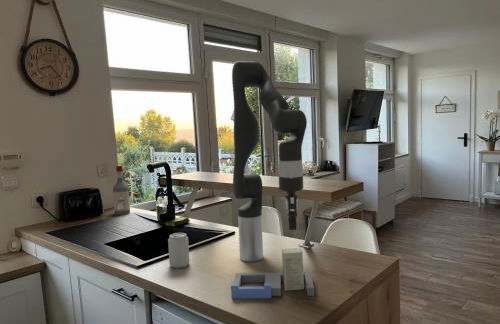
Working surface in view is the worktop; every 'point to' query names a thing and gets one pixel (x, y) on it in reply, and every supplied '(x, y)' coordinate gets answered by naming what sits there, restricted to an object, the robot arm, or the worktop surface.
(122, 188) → the liquor
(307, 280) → the rail
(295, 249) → the skincare box
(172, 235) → the can
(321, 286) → the worktop surface
